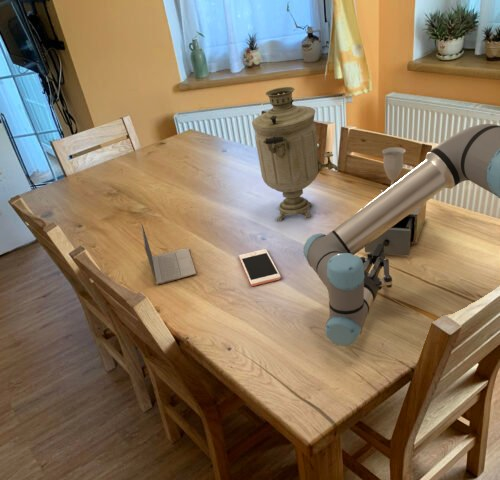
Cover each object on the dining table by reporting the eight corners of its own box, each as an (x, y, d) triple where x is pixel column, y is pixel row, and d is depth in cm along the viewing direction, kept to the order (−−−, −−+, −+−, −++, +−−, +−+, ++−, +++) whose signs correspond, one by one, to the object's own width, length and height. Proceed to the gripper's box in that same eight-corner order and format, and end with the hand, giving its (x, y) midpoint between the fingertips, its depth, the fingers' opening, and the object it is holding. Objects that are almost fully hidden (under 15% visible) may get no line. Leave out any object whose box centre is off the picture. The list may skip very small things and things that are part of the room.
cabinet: (415, 244, 146) (417, 214, 140) (369, 241, 151) (369, 212, 145) (425, 220, 156) (427, 191, 150) (381, 218, 162) (382, 190, 156)
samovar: (318, 237, 158) (309, 104, 133) (248, 229, 170) (227, 106, 145) (352, 198, 177) (349, 75, 152) (286, 193, 189) (274, 78, 164)
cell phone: (266, 251, 156) (265, 248, 155) (281, 279, 142) (281, 276, 141) (239, 257, 155) (238, 255, 154) (251, 286, 141) (251, 284, 140)
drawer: (407, 258, 139) (409, 233, 134) (363, 254, 144) (363, 230, 139) (417, 231, 150) (419, 207, 145) (376, 229, 155) (376, 205, 150)
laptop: (196, 275, 151) (186, 237, 143) (156, 285, 149) (144, 247, 141) (188, 249, 165) (179, 213, 157) (151, 258, 164) (140, 222, 156)
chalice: (407, 202, 168) (409, 148, 157) (396, 210, 165) (398, 156, 154) (388, 198, 172) (389, 146, 161) (377, 206, 169) (377, 153, 158)
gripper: (332, 305, 123) (357, 257, 139) (385, 313, 118) (405, 262, 134) (331, 280, 119) (357, 233, 135) (386, 286, 113) (406, 237, 129)
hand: (381, 248), depth 134 cm, fingers closed
